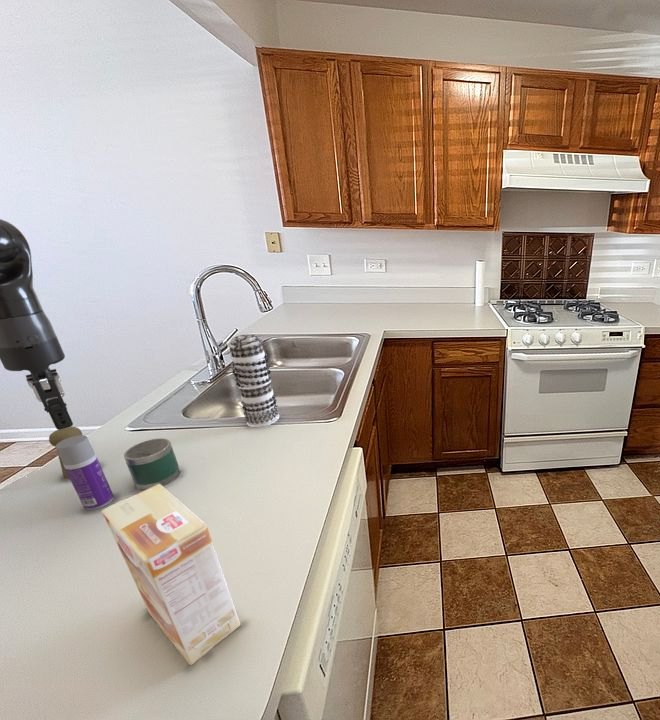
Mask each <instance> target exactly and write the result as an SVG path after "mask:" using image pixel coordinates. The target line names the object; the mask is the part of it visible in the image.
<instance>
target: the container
mask: <svg viewBox="0 0 660 720" xmlns="http://www.w3.org/2000/svg"><path fill="white" fill-rule="evenodd" d="M55 449H56V452H57V451H58V452H57V454H58V453H59V456H60V458H61V460H62V463H63V465H64V467H65V470H66V472H67V474H68V476H69V478H70V479H69V480H70V482H71V484H72V487H73V488H74V491H75V493H76V495H77V497H78V499H79V500H80V503H81V505H82V507H83V509H84V511H95V510H99V509H102V508H103V507H104V508H105V507H106V506H107V505H109V504H111V503H112V502H113V500H114V499H115V496H114V493H113V490H112V489H111V486H110V484H109V482H108V480H107V478H106V475H105V472H104V470H103V468H102V466H101V465H102V464H101V463H100V460H99V458H98V457H97V455H96V452H95V451H94V448H93V447H92V444H91V441H90V439H89V438H88V436H87V435H85V434H84V435H83V434H82V435H78V436H73V437H70V438H67V439H64V440H62V441H60V442H59V443H57V444H56V447H55ZM59 456H58V457H59Z"/></svg>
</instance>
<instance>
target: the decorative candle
mask: <svg viewBox="0 0 660 720" xmlns="http://www.w3.org/2000/svg"><path fill="white" fill-rule="evenodd" d="M262 341H263V339H262V338H261V337H260V338H259V337H258V336H257V335H255V334H251V333H249V334H248V333H247V334H239V335H236V336H234V337H232V338H231V340H230V342H228V343H227V345H226V346H227V347H228V348H229V352H230V354H231V355H230V359H231V362H232V363H231V364H230V369H231V370H232V371H231V374H233V376H234V379H233V380H234V381H235V382H236V383H235V386H236V387H237V388H238V389H239V391H240V398H241V401H240V404H241V405H242V408H241V409H242V410H243V416H245V417H244V420H245V421H246V425H247V426H248V427H250V428H263V427H267V426H269V425H272V424H275V422H277V421H278V420H279V419H280V413H279V409H278V407H279V405H278V404H277V398H276V394H275V393H274V390H273V388H272V384H271V382H272V376H269V375H270V374H271V372H272V370H270V369H271V368H270V367H271V366H270V365H269V364H268V363H269V361H270V358H268V356H269V353H267V352H265V349H264V347H263V342H262Z"/></svg>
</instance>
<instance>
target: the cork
mask: <svg viewBox="0 0 660 720" xmlns="http://www.w3.org/2000/svg"><path fill="white" fill-rule="evenodd" d="M78 435H83V433H82V430H81V429H80V428H78V427H77V426H71V427H67V428H64V429H60V430H58V429H56V430H55V431H53V432H52V433H50V435H49V436H48V440H49V441H48V442H49V443H50V445H51V446H52V447H55V448H56V444H57V443H59V442H60V441H62V440H64V439H67V438H70V437H73V436H78ZM56 452H57V456H58V460H59V464H60V469H61V472H62V475H63V478H64V479H66V480H70V478H69V476H68V474H67V472H66V470H65V467H64V465H63V463H62V460H61V458H60V456H59V453H58V451H57V450H56Z"/></svg>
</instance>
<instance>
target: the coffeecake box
mask: <svg viewBox="0 0 660 720" xmlns="http://www.w3.org/2000/svg"><path fill="white" fill-rule="evenodd" d="M100 512H101V514H102V515H103V517H104V520H105V522H106V523H107V525H108V528H109V530H110V532H111V535H112V536H113V539H114V540H115V543H116V545H117V547H118V549H119V551H120V553H121V556H122V558H123V560H124V563H125V564H126V566H127V569H128V571H129V573H130V575H131V577H132V579H133V581H134V583H135V585H136V588H137V590H138V592H139V594H140V596H141V599H142V601H143V602H144V606H145V608H146V610H147V612H148V613H149V615H150V616H151V618H152V619H153V620H154V621H155V623H156V624H157V625H158V627H159V628H160V630H161V631H162V632H163V633H164V634H165V636H166V637H167V638H168V639H169V641H170V642H171V644H173V645H174V647H175V648H176V650H177V651H178V652H179V653H180V655H181V656H182V658H184V660H185V661H186V662H187V663H188V665H189V666H192V665H194V664H196V662H198V661H199V660H200V659H201V658H202V657H203V656H205V655H206V654H208V652H209V651H211V650H212V649H213V648H214V647H215V646H216V645H218V644H219V643H220V642H222V641H223V640H224V639H226V638H227V637H228V636H230V634H232V633H233V632H234V631H236V630H237V629H239V627H240V626H242V625H241V622H240V618H239V615H238V612H237V610H236V607H235V604H234V601H233V598H232V596H231V591H230V589H229V587H228V584H227V580H226V578H225V575H224V572H223V569H222V566H221V563H220V560H219V557H218V554H217V551H216V549H215V546H214V543H213V540H212V537H211V534H210V531H209V527H208V525H207V524H206V523H205V522H204V521H203V520H202V519H201V518H200V517H198V515H196V513H194V512H193V511H192V510H191V509H189V508H188V507H187V506H186V505H185V504H184V503H182V502H181V500H179V499H178V498H177V497H175V495H174V494H172V493H171V492H170V491H168V489H166V488H165V487H164V486H162V485H161V484H157V485H155V486H153V487H151V488H149V489H147V490H141V491H140V492H139V493H137V494H135V495H132V496H130V497H127V498H126V499H121V500H119V501H117V502H115V503H114V504H111V505H109V506H107V507H106V508H105V507H104V508H103V509H102V510H101V511H100Z"/></svg>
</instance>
